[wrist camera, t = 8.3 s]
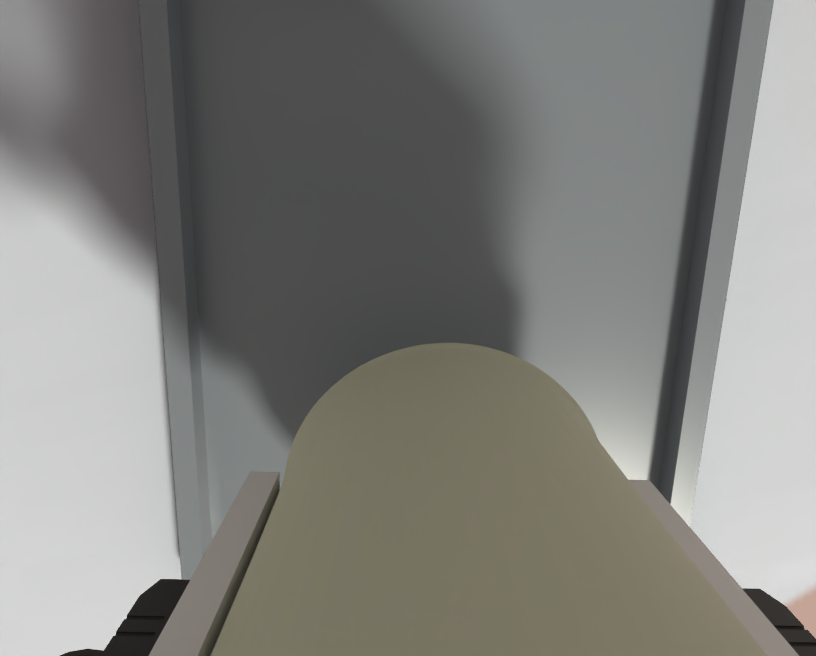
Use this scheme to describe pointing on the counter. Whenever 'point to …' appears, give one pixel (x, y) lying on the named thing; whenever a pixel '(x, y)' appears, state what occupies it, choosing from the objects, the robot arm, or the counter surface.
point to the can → (466, 528)
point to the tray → (443, 211)
